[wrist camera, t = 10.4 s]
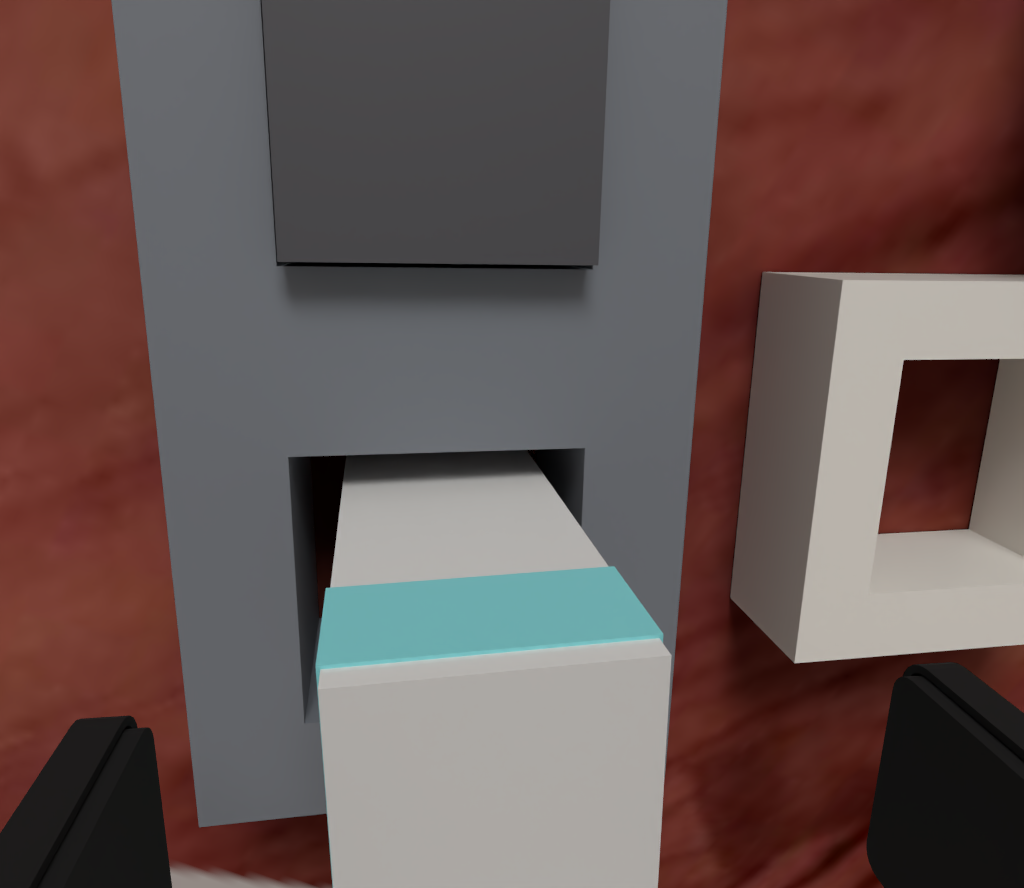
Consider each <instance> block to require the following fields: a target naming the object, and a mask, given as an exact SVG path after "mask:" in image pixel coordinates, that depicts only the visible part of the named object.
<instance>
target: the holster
mask: <svg viewBox="0 0 1024 888" xmlns="http://www.w3.org/2000/svg"><path fill="white" fill-rule="evenodd" d="M947 359H1000V361H999V367H998V372H997V378H996V383H995V389H994V394H993V400H992V405H991V410H990V416H989V421H988V427H987V432H986V438H985V443H984V449H983V454H982V460H981V465H980V470H979V476H978V481H977V487H976V492H975V498H974V503H973V509H972V514H971V520H970V525H969V529H965V530H946V531H928V532H909V533H890V534H878V528H879V521H880V514H881V508H882V501H883V495H884V488H885V481H886V475H887V468H888V461H889V455H890V448H891V441H892V435H893V428H894V422H895V415H896V408H897V402H898V395H899V388H900V382H901V375H902V368H903V362H904V360H947ZM730 598H731V599H732V600H733V601H734V602H735V603H736V604H737V605H738V606H739V607H740V608H741V609H742V610H743V611H744V612H745V613H746V614H747V615H748V617H749V618H750V619H751V620H752V621H753V622H754V623H755V624H756V625H757V626H758V627H759V628H760V629H761V630H762V631H763V632H764V633H765V634H766V635H767V636H768V637H769V638H770V639H771V640H772V641H773V642H774V643H775V644H776V645H777V646H778V647H779V648H780V649H781V650H782V651H783V652H784V653H785V654H786V655H787V656H788V657H789V658H790V659H791V660H792V661H793V662H794V663H805V662H817V661H829V660H841V659H853V658H865V657H877V656H889V655H901V654H913V653H925V652H937V651H949V650H961V649H973V648H985V647H997V646H1010V645H1022V644H1024V275H999V274H902V273H805V272H763V273H762V283H761V293H760V303H759V313H758V323H757V333H756V343H755V353H754V363H753V373H752V383H751V393H750V403H749V413H748V423H747V433H746V443H745V453H744V463H743V473H742V483H741V493H740V504H739V514H738V524H737V534H736V544H735V554H734V564H733V574H732V584H731V594H730Z"/></svg>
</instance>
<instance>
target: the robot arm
mask: <svg viewBox="0 0 1024 888" xmlns="http://www.w3.org/2000/svg"><path fill="white" fill-rule="evenodd" d="M867 855H868V859H869V863H870V865H871V868H872V870H873V872H874V873H875V875H876V877H877V878H878V880H879V881H880V882H881V884H882V885H883V886H884V888H1024V713H1023V712H1021V711H1020V710H1019V709H1017V708H1016V707H1015V706H1014V705H1012V704H1011V703H1010V702H1008V701H1007V700H1006V699H1005V698H1003V697H1002V696H1001V695H999V694H998V693H997V692H996V691H994V690H993V689H992V688H990V687H989V686H988V685H987V684H985V683H984V682H983V681H981V680H980V679H979V678H978V677H976V676H975V675H974V674H972V673H971V672H970V671H969V670H967V669H966V668H965V667H963V666H961V665H959V664H958V663H952V662H948V663H932V664H917V665H912V666H910V667H908V668H907V669H906V671H905V672H904V674H903V677H900V678H898V679H897V680H896V682H895V683H894V687H893V691H892V697H891V703H890V709H889V715H888V720H887V726H886V732H885V738H884V744H883V750H882V756H881V762H880V767H879V773H878V779H877V785H876V791H875V797H874V803H873V808H872V814H871V820H870V826H869V832H868V838H867ZM0 888H172V883H171V876H170V867H169V859H168V851H167V843H166V834H165V826H164V818H163V810H162V802H161V794H160V785H159V777H158V769H157V761H156V753H155V745H154V738H153V733H152V731H151V729H150V728H137V724H136V722H135V720H134V718H133V717H131V716H117V717H101V718H86V719H79V720H76V721H75V722H74V723H73V725H72V726H71V727H70V729H69V730H68V732H67V733H66V735H65V736H64V738H63V739H62V741H61V742H60V744H59V745H58V747H57V748H56V750H55V751H54V753H53V754H52V756H51V757H50V759H49V760H48V762H47V763H46V765H45V766H44V768H43V769H42V771H41V772H40V774H39V776H38V777H37V779H36V780H35V782H34V783H33V785H32V786H31V788H30V789H29V791H28V792H27V794H26V795H25V797H24V798H23V800H22V801H21V803H20V804H19V806H18V807H17V809H16V810H15V812H14V813H13V815H12V816H11V818H10V819H9V821H8V822H7V824H6V825H5V827H4V829H3V830H2V832H1V833H0Z"/></svg>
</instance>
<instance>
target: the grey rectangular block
mask: <svg viewBox="0 0 1024 888" xmlns="http://www.w3.org/2000/svg"><path fill="white" fill-rule="evenodd" d="M111 1H112V10H113V20H114V29H115V39H116V48H117V57H118V67H119V76H120V86H121V95H122V105H123V114H124V123H125V133H126V142H127V152H128V161H129V171H130V180H131V190H132V199H133V208H134V218H135V227H136V237H137V246H138V256H139V265H140V274H141V284H142V293H143V303H144V312H145V322H146V331H147V340H148V350H149V359H150V369H151V378H152V388H153V397H154V407H155V416H156V425H157V435H158V444H159V454H160V463H161V473H162V482H163V491H164V501H165V510H166V520H167V529H168V539H169V548H170V557H171V567H172V576H173V586H174V595H175V605H176V614H177V624H178V633H179V642H180V652H181V661H182V671H183V680H184V690H185V699H186V708H187V718H188V727H189V737H190V746H191V756H192V765H193V774H194V784H195V793H196V803H197V812H198V822H199V827H206V826H215V825H224V824H234V823H243V822H252V821H262V820H271V819H280V818H290V817H299V816H309V815H318V814H327V809H326V796H325V783H324V770H323V757H322V744H321V731H320V718H319V705H318V692H317V679H316V658H317V651H318V643H319V636H320V628H321V621H322V618H319V605H318V586H317V567H316V548H315V530H314V511H313V492H312V473H311V456H338V455H371V454H405V453H438V452H471V451H504V450H537V459H536V464H537V466H538V467H539V468H540V470H541V471H542V473H543V474H544V475H545V477H546V478H547V480H548V481H549V483H550V484H551V485H552V487H553V488H554V490H555V491H556V492H557V494H558V495H559V497H560V498H561V500H562V501H563V502H564V504H565V505H566V507H567V508H568V509H569V511H570V512H571V514H572V515H573V517H574V518H575V519H576V521H577V522H578V524H579V525H580V526H581V528H582V529H583V531H584V532H585V534H586V535H587V536H588V538H589V539H590V541H591V542H592V543H593V545H594V546H595V548H596V549H597V551H598V552H599V553H600V555H601V556H602V558H603V559H604V560H605V562H606V563H607V565H608V566H609V567H610V566H615V568H616V569H617V570H618V572H619V573H620V575H621V576H622V577H623V579H624V580H625V582H626V583H627V584H628V586H629V587H630V588H631V590H632V591H633V593H634V594H635V595H636V597H637V598H638V600H639V601H640V602H641V604H642V605H643V606H644V608H645V609H646V611H647V612H648V613H649V615H650V616H651V617H652V619H653V620H654V622H655V623H656V624H657V626H658V627H659V629H660V630H661V631H662V633H663V644H664V645H665V647H666V648H667V650H668V651H669V653H670V654H671V655H672V656H671V673H670V689H669V706H668V723H667V739H666V756H667V743H668V731H669V718H670V706H671V694H672V681H673V669H674V657H675V644H676V632H677V619H678V607H679V595H680V582H681V570H682V557H683V545H684V533H685V520H686V508H687V496H688V483H689V471H690V458H691V446H692V434H693V421H694V409H695V396H696V384H697V372H698V359H699V347H700V335H701V322H702V310H703V297H704V285H705V273H706V260H707V248H708V236H709V223H710V211H711V198H712V186H713V174H714V161H715V149H716V136H717V124H718V112H719V99H720V87H721V75H722V62H723V50H724V37H725V25H726V13H727V0H111ZM666 756H665V768H666ZM664 777H665V773H664Z"/></svg>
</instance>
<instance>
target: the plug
mask: <svg viewBox="0 0 1024 888" xmlns="http://www.w3.org/2000/svg"><path fill="white" fill-rule="evenodd" d="M671 656H672V655H671V654H670V653H669V651H668V650H667V648H666V647H665V645H664V644H663V633H662V631H661V630H660V629H659V627H658V626H657V624H656V623H655V622H654V620H653V619H652V617H651V616H650V615H649V613H648V612H647V611H646V609H645V608H644V606H643V605H642V604H641V602H640V601H639V600H638V598H637V597H636V595H635V594H634V593H633V591H632V590H631V588H630V587H629V586H628V584H627V583H626V582H625V580H624V579H623V577H622V576H621V575H620V573H619V572H618V570H617V569H616V568H615V566H610V567H609V566H608V565H607V563H606V562H605V560H604V559H603V558H602V556H601V555H600V553H599V552H598V551H597V549H596V548H595V546H594V545H593V543H592V542H591V541H590V539H589V538H588V536H587V535H586V534H585V532H584V531H583V529H582V528H581V526H580V525H579V524H578V522H577V521H576V519H575V518H574V517H573V515H572V514H571V512H570V511H569V509H568V508H567V507H566V505H565V504H564V502H563V501H562V500H561V498H560V497H559V495H558V494H557V492H556V491H555V490H554V488H553V487H552V485H551V484H550V483H549V481H548V480H547V478H546V477H545V475H544V474H543V473H542V471H541V470H540V468H539V467H538V466H537V464H536V463H535V461H534V460H533V458H532V457H531V456H530V454H529V453H528V451H527V450H504V451H471V452H438V453H405V454H371V455H346V461H345V470H344V478H343V486H342V494H341V503H340V511H339V519H338V527H337V536H336V544H335V552H334V561H333V569H332V577H331V585H330V588H326V591H325V598H324V606H323V613H322V621H321V628H320V636H319V643H318V651H317V658H316V679H317V692H318V705H319V718H320V731H321V744H322V757H323V770H324V783H325V796H326V809H327V822H328V834H329V847H330V860H331V873H332V886H333V888H658V873H659V856H660V839H661V823H662V806H663V789H664V773H665V756H666V739H667V723H668V706H669V689H670V673H671Z"/></svg>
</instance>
